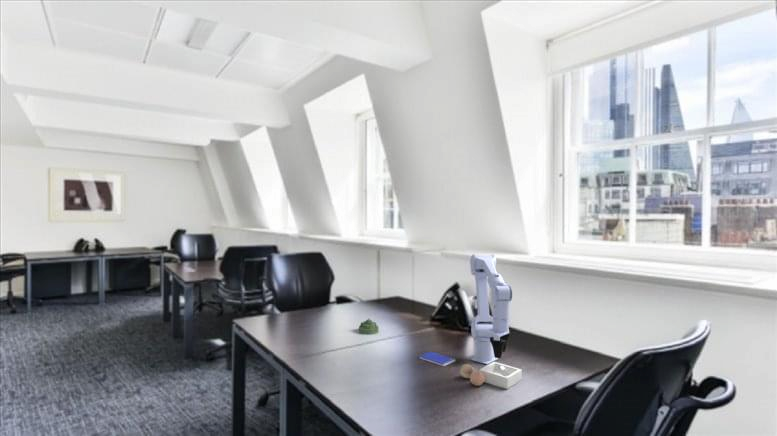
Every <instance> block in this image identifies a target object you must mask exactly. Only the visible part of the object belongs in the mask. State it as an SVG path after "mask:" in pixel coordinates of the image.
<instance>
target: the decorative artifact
mask: <svg viewBox="0 0 777 436" xmlns="http://www.w3.org/2000/svg"><path fill="white" fill-rule="evenodd" d="M358 333H359V334H362V335H367V336H368V335H376V334H378V333H379V326H378V325H377V322H375V321H373V320H372V319H370V317H368V319H366V320H364V321H362V322H360V325H359V326H358Z"/></svg>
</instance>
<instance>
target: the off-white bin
mask: <svg viewBox="0 0 777 436" xmlns="http://www.w3.org/2000/svg"><path fill="white" fill-rule="evenodd" d="M497 365H502V366H504V367H505V368H506V371H507V375H506V376H503V375H499V374H496V373H493V369H494V367H495V366H497ZM478 371H480V372H481V373H482V374H483V376H484V382H483V383H485V384H486V383H487V384H488V385H489V384H490V385H493V386H496V387H499V388H502V389H505V390H509V389H511V388H513V387H514V386H516V384H518V383H519V382H522V379H523V378H522V377H523V375H522V374H523V370H522V368H521V369H520V368H517V367H514V366H511V365H509V364H504V363H501V362H497V361H493V362H491V363H489V364H486V366H483V367H482V368H480V369H479V370H478Z"/></svg>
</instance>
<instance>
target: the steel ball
mask: <svg viewBox="0 0 777 436" xmlns="http://www.w3.org/2000/svg"><path fill="white" fill-rule="evenodd" d="M493 373H496V374H499V375H503V376H506V375H507V371H506V368H505V367H504V366H502V365H497V366H495V367H494V369H493Z"/></svg>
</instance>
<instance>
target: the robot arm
mask: <svg viewBox="0 0 777 436" xmlns="http://www.w3.org/2000/svg"><path fill="white" fill-rule="evenodd" d="M469 262H470V263H469V264H470V265H469V266H470V273H471V275H473V276H474V279H475V289H476V291H475V292H476V306H477V315H476V316H474V317H473V318H472V320H471V326H470V327H471V329H470V331H471V337H472V338H474V340H475V341H474V356H472V357H471V358H470V361H474V362H476V363H479V364H484V365H489V364H491V363H493V362H496V361H497V360H499V359H502V355H503V353H505V352H506V349H507V346H508V340H509V339H510V338H509V337H510V336H511V334H512V333H511V331H510V329H509V328H510V302H511V301H512V299H513V289H512V286H511V285H510V284H508V283H507V284H506V282H505V281H504V278H503V276H502V274H500V273H499V272H497V269H496V266H497V258H496V256H495V254H473V253H472V255H471V256H470V261H469ZM488 285H489V288H490V291H491V292H490V295H491V304H492V305H493V306H492V307H493V308H492V311H493V312H492V315H490V305H489V292H488V291H489V289H488Z"/></svg>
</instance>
